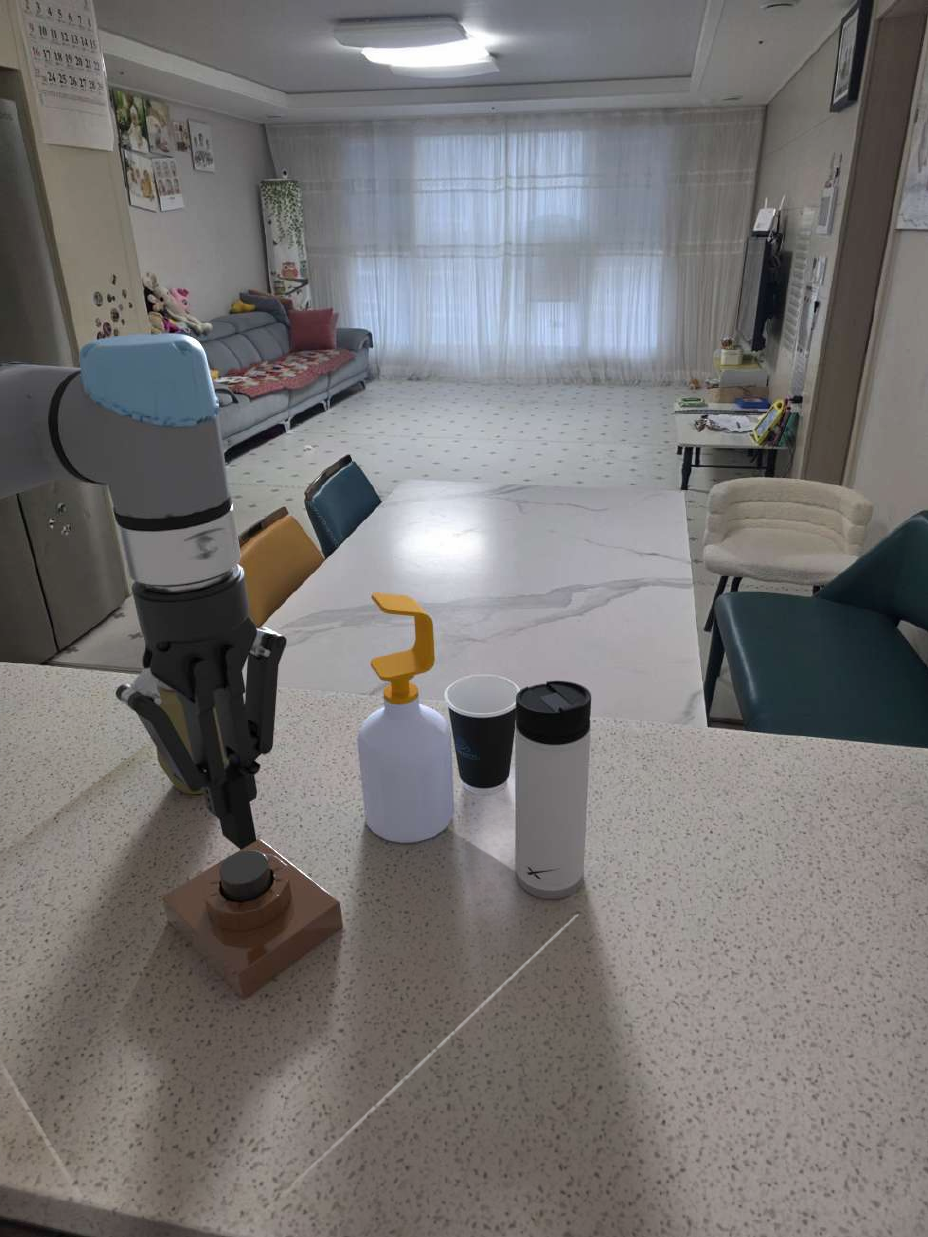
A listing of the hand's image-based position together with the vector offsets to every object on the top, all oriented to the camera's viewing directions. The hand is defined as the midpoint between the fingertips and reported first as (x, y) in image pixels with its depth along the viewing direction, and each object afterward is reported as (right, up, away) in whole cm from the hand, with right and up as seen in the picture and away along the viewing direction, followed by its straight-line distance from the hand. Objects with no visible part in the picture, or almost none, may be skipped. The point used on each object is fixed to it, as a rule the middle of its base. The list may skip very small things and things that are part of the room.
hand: (239, 837), depth 67 cm
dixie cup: (+21, 0, +22) cm, 30 cm away
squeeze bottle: (-10, 0, +23) cm, 26 cm away
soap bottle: (+13, -2, +17) cm, 21 cm away
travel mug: (+26, -6, +9) cm, 28 cm away
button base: (0, -9, +4) cm, 10 cm away
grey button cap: (0, -5, +2) cm, 5 cm away
